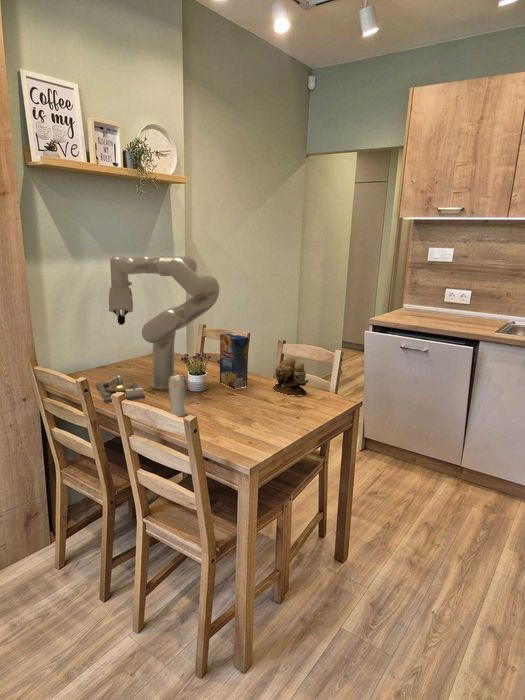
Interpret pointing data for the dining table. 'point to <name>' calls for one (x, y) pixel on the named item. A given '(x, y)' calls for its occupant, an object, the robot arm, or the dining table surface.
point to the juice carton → (233, 360)
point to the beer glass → (177, 394)
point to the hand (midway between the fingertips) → (121, 324)
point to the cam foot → (118, 384)
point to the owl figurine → (290, 377)
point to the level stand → (130, 393)
